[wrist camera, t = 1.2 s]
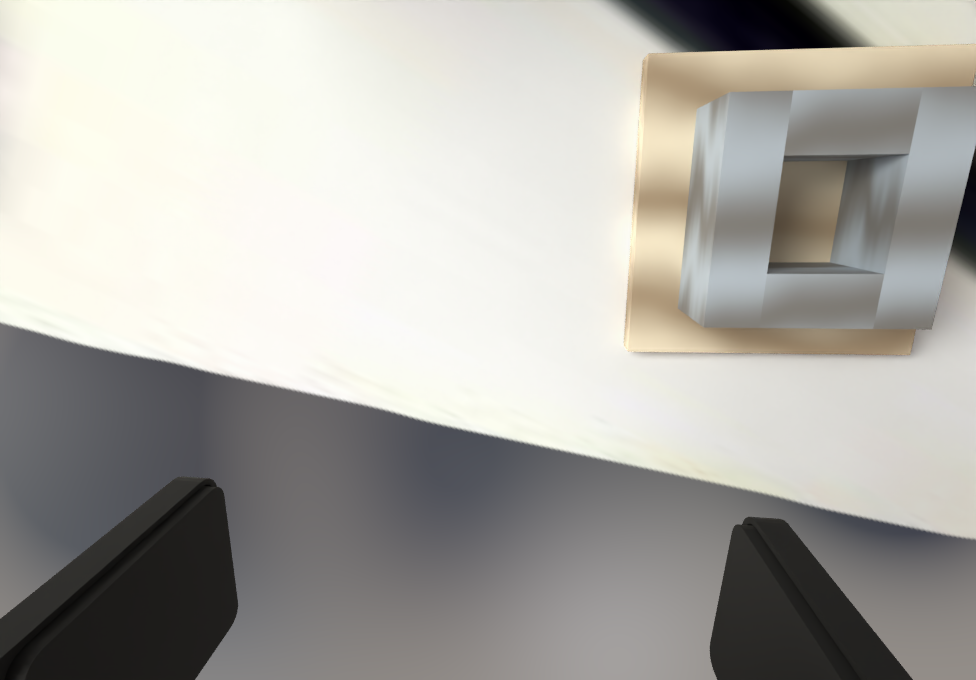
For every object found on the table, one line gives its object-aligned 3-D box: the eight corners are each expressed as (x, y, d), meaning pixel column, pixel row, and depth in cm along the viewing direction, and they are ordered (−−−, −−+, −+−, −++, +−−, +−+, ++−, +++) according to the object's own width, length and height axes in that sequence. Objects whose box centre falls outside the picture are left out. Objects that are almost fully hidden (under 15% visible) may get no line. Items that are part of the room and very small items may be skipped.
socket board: (643, 60, 30) (673, 25, 24) (959, 51, 29) (1077, 11, 23) (623, 345, 35) (645, 377, 29) (893, 348, 34) (976, 382, 28)
